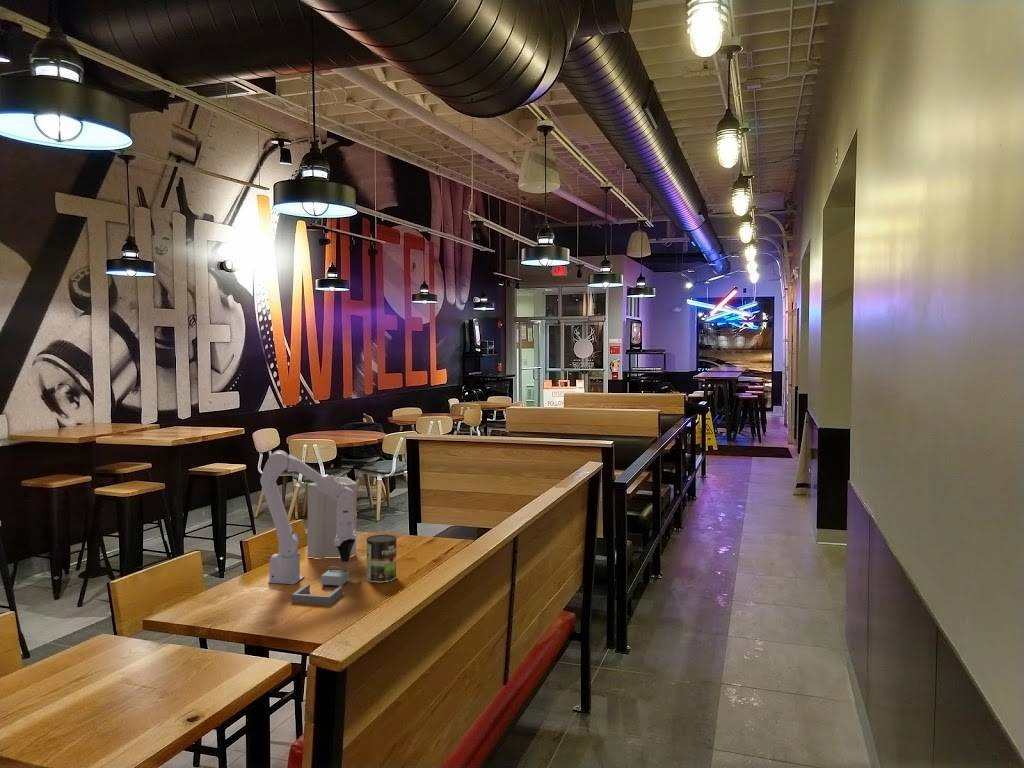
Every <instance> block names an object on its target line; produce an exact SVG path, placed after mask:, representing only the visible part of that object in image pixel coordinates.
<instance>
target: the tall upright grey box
mask: <svg viewBox="0 0 1024 768" xmlns="http://www.w3.org/2000/svg"><path fill="white" fill-rule="evenodd" d="M334 479H335V480H337V481H338V482H340V483H341V484H343V483H344V484H345V485H346V486H349V488H351V489H352V491H353V494H354V501H353V509H354V530H356V531H357V482H356V481H355V480H352V479H351V478H350V477H345V476H337V477H334ZM337 508H338V502H337V500H336V499H335V498H332V497H330V496H328V495H327V494H325V493H324V492H322V491H321V490H319V489H318V488H317V484H316V483H315V482H311V483H308V484H307V558H308V557H313V558H325V557H339V556H340V553H339V550H338V548H337V546H334V540H335V539H336V535H337ZM351 539H355V542H354V544H353V546H352V549H351V553H350V556H352V555H354V554H356V555H357V537H356V538H351Z"/></svg>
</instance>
